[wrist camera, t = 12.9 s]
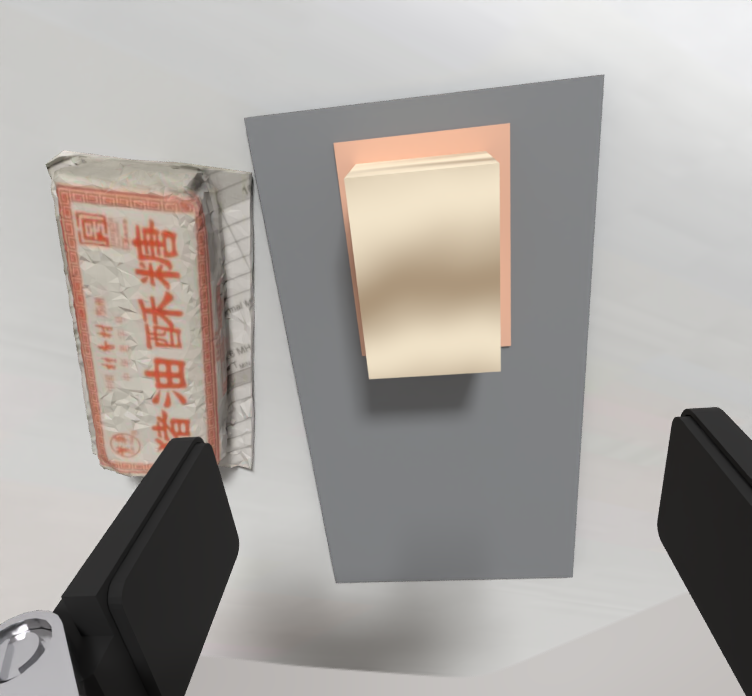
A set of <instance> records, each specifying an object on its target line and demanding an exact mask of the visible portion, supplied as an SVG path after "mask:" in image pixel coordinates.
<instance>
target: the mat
mask: <svg viewBox="0 0 752 696" xmlns="http://www.w3.org/2000/svg"><path fill="white" fill-rule="evenodd" d="M603 86H604V75H596V76H588V77H579V78H571V79H563V80H555V81H546V82H538V83H530V84H521V85H513V86H505V87H496V88H488V89H480V90H472V91H463V92H455V93H447V94H438V95H430V96H422V97H413V98H405V99H397V100H389V101H380V102H372V103H364V104H355V105H347V106H339V107H330V108H322V109H314V110H306V111H297V112H289V113H281V114H272V115H264V116H256V117H248V118H244V120H245V125H246V130H247V136H248V141H249V146H250V151H251V156H252V161H253V166H254V171H255V176H256V181H257V186H258V191H259V196H260V201H261V206H262V211H263V216H264V221H265V227H266V232H267V237H268V242H269V247H270V252H271V257H272V262H273V267H274V272H275V277H276V282H277V287H278V292H279V297H280V302H281V307H282V312H283V318H284V323H285V328H286V333H287V338H288V343H289V348H290V353H291V358H292V363H293V368H294V373H295V378H296V383H297V388H298V393H299V398H300V403H301V408H302V414H303V419H304V424H305V429H306V434H307V439H308V444H309V449H310V454H311V459H312V464H313V469H314V474H315V479H316V484H317V489H318V494H319V499H320V505H321V510H322V515H323V520H324V525H325V530H326V535H327V540H328V545H329V550H330V555H331V560H332V565H333V570H334V575H335V580H336V583H348V582H391V581H435V580H478V579H521V578H564V577H573V563H574V547H575V531H576V515H577V499H578V483H579V467H580V451H581V436H582V420H583V404H584V388H585V372H586V356H587V340H588V325H589V309H590V293H591V277H592V261H593V245H594V229H595V213H596V198H597V182H598V166H599V150H600V134H601V118H602V102H603ZM480 151H486V152H488V153H489V154H490V155H491V156H492V157H493V158H494V159H495V160H497V161H498V162H499V163H500V325H501V371H500V372H483V373H466V374H450V375H433V376H416V377H399V378H382V379H369V374H368V366H367V358H366V350H365V342H364V334H363V326H362V318H361V310H360V302H359V294H358V286H357V278H356V270H355V262H354V254H353V246H352V238H351V230H350V222H349V214H348V206H347V198H346V190H345V182H344V178H345V177H346V176H347V174H348V173H349V172H350V171H351V169H352V168H353V167H354V166H355V164H363V163H373V162H382V161H392V160H402V159H412V158H422V157H431V156H441V155H451V154H461V153H471V152H480Z"/></svg>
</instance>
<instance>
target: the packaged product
mask: <svg viewBox="0 0 752 696" xmlns="http://www.w3.org/2000/svg"><path fill="white" fill-rule="evenodd" d="M46 167H47V169H48V172H49V174H50V177H51V179H52V183H51V192H52V196H53V199H54V206H55V216H56V221H57V226H58V233H59V239H60V246H61V252H62V257H63V262H64V272H65V275H66V284H67V289H68V294H69V306H70V312H71V315H72V318H73V330H74V336H75V341H76V347H77V352H78V361H79V366H80V369H81V373H82V388H83V394H84V401H85V406H86V413H87V419H88V424H89V432H90V435H91V442H92V452H93V454H95V455H98V458H99V460H100V466H102V467H103V468H104V469H108V470H111V471H116V472H117V473H119V474H122V475H126V476H130V477H131V476H145V475H146V474H147V473H148V471H149V470H150V468H151V467H152V465H153V464H154V462H155V461H156V460H157V458H158V457H159V455H160V454H161V452H162V451H163V450H164V448H165V447H166V445H167V444H168V442H169V441H170V440H171V439H173V438H182V437H201V438H202V439H203V440H204V443H210V444H211V446H212V448H213V451H214V454H215V458H216V461H217V465H218V466H223V467H230V468H232V467H235V466H242V467H245V468H249V469H251V467H252V463H253V446H254V407H253V398H252V386H253V332H254V319H255V311H254V290H253V281H252V268H253V245H254V235H253V212H252V193H251V183H252V172H244V171H237V170H230V169H223V168H216V167H208V166H201V165H194V164H187V163H177V162H161V161H146V160H131V159H125V158H117V157H110V156H102V155H95V154H87V153H79V152H72V151H62V152H61V153H60V154H58V155H57V156H56V157H54V158H53V159H52V160H51V161H49V162H48V163H47V164H46Z"/></svg>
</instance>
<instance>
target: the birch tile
mask: <svg viewBox="0 0 752 696" xmlns="http://www.w3.org/2000/svg"><path fill="white" fill-rule="evenodd" d="M344 182H345V190H346V198H347V206H348V214H349V222H350V230H351V238H352V246H353V254H354V262H355V270H356V278H357V286H358V294H359V302H360V310H361V318H362V326H363V334H364V342H365V350H366V358H367V366H368V374H369V379H382V378H399V377H416V376H433V375H450V374H466V373H483V372H500V371H501V325H500V163H499V162H498V161H497V160H495V159H494V158H493V157H492V156H491V155H490V154H489V153H488V152H486V151H480V152H471V153H461V154H451V155H441V156H431V157H422V158H412V159H402V160H392V161H382V162H373V163H363V164H355V166H354V167H353V168H352V169H351V171H350V172H349V173H348V174H347V176H346V177H345V178H344Z"/></svg>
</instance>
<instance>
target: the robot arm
mask: <svg viewBox="0 0 752 696" xmlns="http://www.w3.org/2000/svg"><path fill="white" fill-rule="evenodd" d="M657 527H658V533H659V537H660V540H661V542H662V544H663V546H664V547H665V549H666V551H667V553H668V555H669V557H670V558H671V560H672V562H673V564H674V566H675V567H676V569H677V571H678V573H679V575H680V577H681V578H682V580H683V582H684V584H685V586H686V587H687V589H688V591H689V593H690V595H691V596H692V598H693V600H694V602H695V604H696V606H697V607H698V609H699V611H700V613H701V615H702V617H703V618H704V620H705V622H706V623H707V626H708V627H709V629H710V631H711V633H712V635H713V636H714V638H715V640H716V642H717V644H718V646H719V647H720V649H721V651H722V653H723V655H724V656H725V658H726V660H727V662H728V664H729V665H730V667H731V669H732V671H733V673H734V675H735V676H736V678H737V680H738V682H739V684H740V686H741V687H742V689H743V691H744V693H745V695H746V696H752V440H751V439H750V438H749V437H748V436H747V435H746V434H745V433H744V432H743V431H742V430H741V429H740V428H739V427H738V426H737V425H736V424H735V423H734V421H733V420H732V419H731V418H730V417H729V416H728V415H727V414H726V413H725V412H724V411H723V410H721V409H720V408H717V407H711V408H693V409H685V410H684V411H683V412H682V414H681V417H675V418H674V419H673V421H672V426H671V433H670V440H669V446H668V453H667V460H666V467H665V473H664V480H663V487H662V494H661V500H660V507H659V514H658V521H657ZM238 551H239V538H238V534H237V530H236V527H235V524H234V520H233V517H232V513H231V510H230V506H229V503H228V499H227V496H226V492H225V489H224V485H223V482H222V478H221V475H220V472H219V468H218V465H217V461H216V458H215V454H214V451H213V448H212V446H211V444H210V443H204V440H203V439H202V438H201V437H182V438H173V439H171V440H170V441H169V442H168V444H167V445H166V447H165V448H164V450H163V451H162V452H161V454H160V455H159V457H158V458H157V460H156V461H155V462H154V464H153V465H152V467H151V468H150V470H149V471H148V473H147V474H146V475H145V477H144V478H143V480H142V481H141V483H140V484H139V485H138V487H137V488H136V490H135V491H134V493H133V494H132V496H131V497H130V498H129V500H128V501H127V503H126V504H125V506H124V507H123V508H122V510H121V511H120V513H119V514H118V516H117V517H116V519H115V520H114V521H113V523H112V524H111V526H110V527H109V529H108V530H107V532H106V533H105V534H104V536H103V537H102V539H101V540H100V542H99V543H98V544H97V546H96V547H95V549H94V550H93V552H92V553H91V555H90V556H89V557H88V559H87V560H86V562H85V563H84V565H83V566H82V567H81V569H80V570H79V572H78V573H77V575H76V576H75V578H74V579H73V580H72V582H71V583H70V585H69V586H68V588H67V589H66V590H65V592H64V593H63V595H62V596H61V597H62V600H61V601H60V602H59V604H58V605H57V607H56V608H55V610H54V611H53V612H51V611H42V610H36V611H32V612H27V613H23V614H20V615H18V616H16V617H13V618H11V619H8V620H7V621H5V622H3V623H2V624H0V696H184V695H185V693H186V690H187V687H188V685H189V682H190V679H191V677H192V674H193V672H194V669H195V666H196V664H197V661H198V658H199V656H200V653H201V651H202V648H203V645H204V643H205V640H206V637H207V635H208V632H209V629H210V627H211V624H212V621H213V619H214V616H215V614H216V611H217V608H218V606H219V603H220V600H221V598H222V595H223V592H224V590H225V587H226V584H227V582H228V579H229V576H230V574H231V571H232V569H233V566H234V563H235V561H236V558H237V555H238Z"/></svg>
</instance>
